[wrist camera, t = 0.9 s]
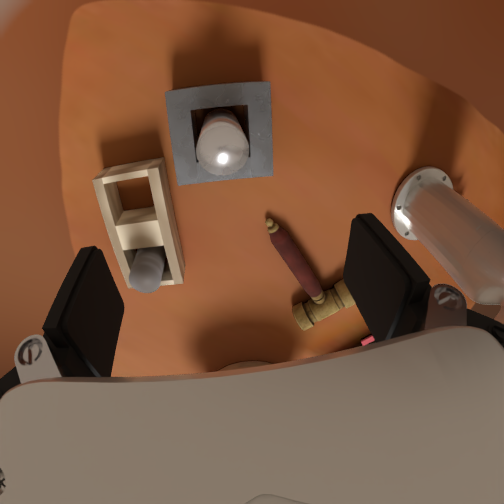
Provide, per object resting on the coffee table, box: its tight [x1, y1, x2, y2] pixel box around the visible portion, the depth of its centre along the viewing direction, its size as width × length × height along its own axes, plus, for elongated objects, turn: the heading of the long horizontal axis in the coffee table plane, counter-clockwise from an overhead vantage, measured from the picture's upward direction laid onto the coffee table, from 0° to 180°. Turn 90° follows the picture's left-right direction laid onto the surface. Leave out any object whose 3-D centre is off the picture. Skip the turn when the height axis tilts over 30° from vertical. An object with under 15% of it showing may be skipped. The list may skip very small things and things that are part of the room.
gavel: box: [265, 218, 356, 331], centre depth 43 cm, size 21×5×10 cm
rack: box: [92, 157, 185, 293], centre depth 33 cm, size 8×16×7 cm, turn 3°
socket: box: [165, 81, 273, 186], centre depth 29 cm, size 10×10×5 cm
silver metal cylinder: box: [196, 109, 249, 176], centre depth 26 cm, size 4×4×12 cm
